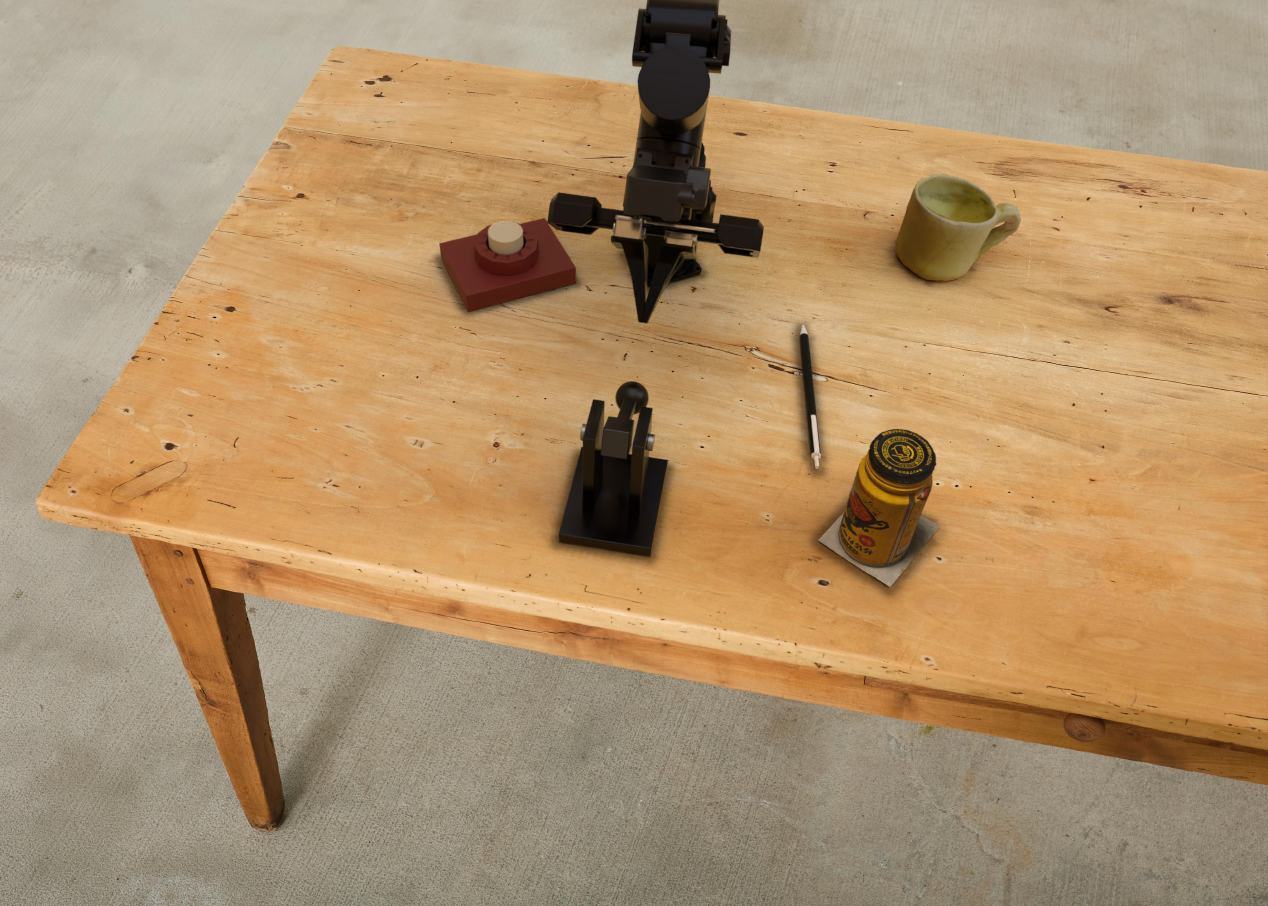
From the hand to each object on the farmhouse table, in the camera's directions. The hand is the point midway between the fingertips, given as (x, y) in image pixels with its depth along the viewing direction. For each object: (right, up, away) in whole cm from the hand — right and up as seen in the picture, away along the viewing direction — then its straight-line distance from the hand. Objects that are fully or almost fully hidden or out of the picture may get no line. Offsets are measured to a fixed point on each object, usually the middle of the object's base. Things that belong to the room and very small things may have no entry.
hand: (642, 322), depth 94 cm
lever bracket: (-3, -16, -1) cm, 16 cm away
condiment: (+21, -19, -2) cm, 28 cm away
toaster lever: (-2, -10, -3) cm, 11 cm away
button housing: (-14, +8, +19) cm, 25 cm away
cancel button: (-14, +10, +16) cm, 23 cm away
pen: (+16, -6, +9) cm, 20 cm away
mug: (+34, +10, +23) cm, 42 cm away
